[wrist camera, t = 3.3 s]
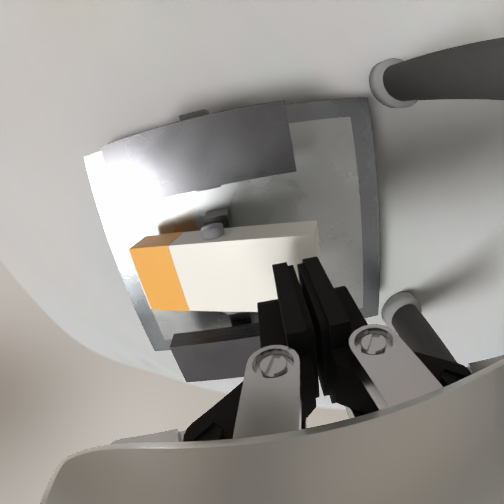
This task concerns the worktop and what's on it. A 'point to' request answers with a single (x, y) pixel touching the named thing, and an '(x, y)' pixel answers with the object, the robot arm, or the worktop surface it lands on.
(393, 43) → the worktop surface
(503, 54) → the dark grey post
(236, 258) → the block
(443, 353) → the dark grey rod
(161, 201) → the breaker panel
